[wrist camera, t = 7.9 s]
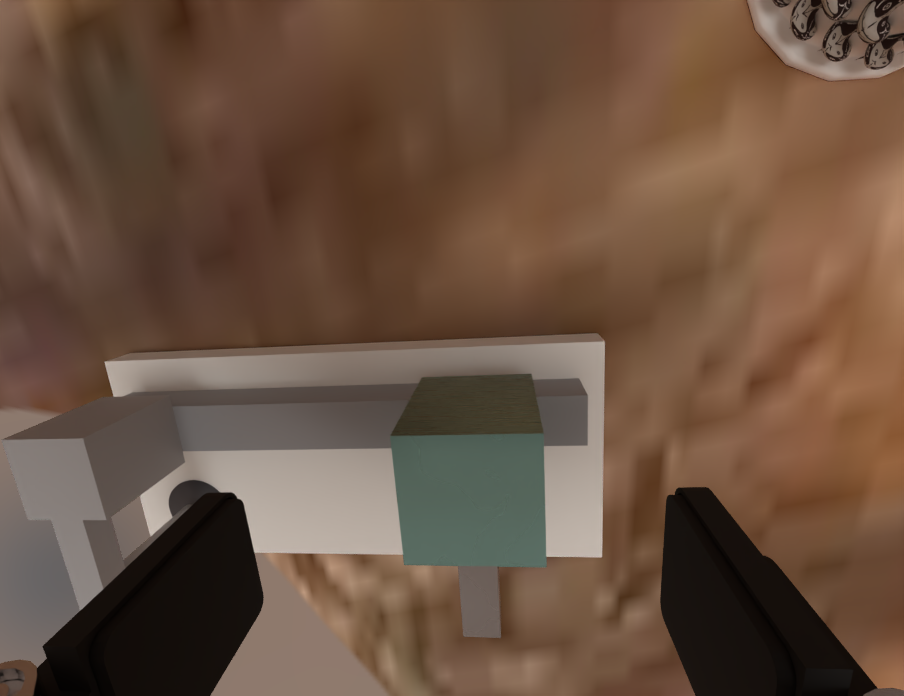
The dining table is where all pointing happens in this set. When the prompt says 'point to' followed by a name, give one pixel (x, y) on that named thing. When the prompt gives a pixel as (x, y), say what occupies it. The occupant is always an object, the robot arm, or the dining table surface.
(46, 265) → the dining table surface
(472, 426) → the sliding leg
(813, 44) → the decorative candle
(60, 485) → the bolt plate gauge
